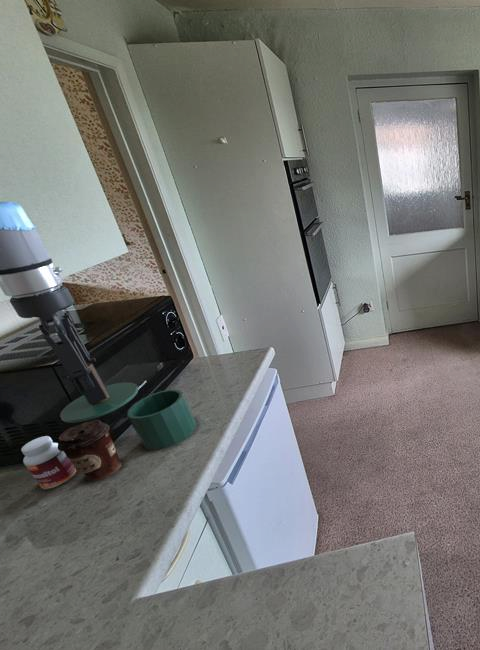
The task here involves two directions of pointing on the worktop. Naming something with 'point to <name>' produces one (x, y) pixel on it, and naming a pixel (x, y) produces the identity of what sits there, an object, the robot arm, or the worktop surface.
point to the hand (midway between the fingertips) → (98, 396)
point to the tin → (162, 419)
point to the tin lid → (115, 399)
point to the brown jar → (90, 449)
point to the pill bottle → (47, 462)
